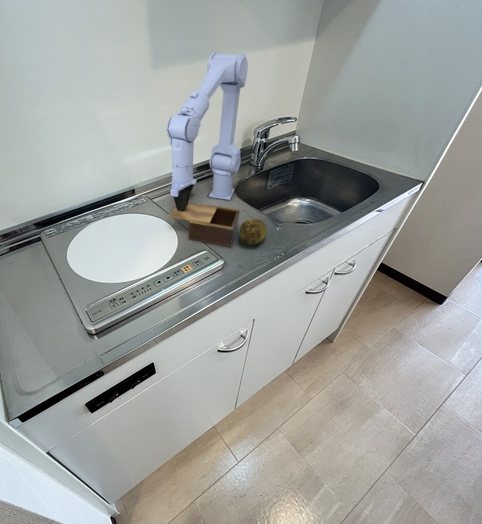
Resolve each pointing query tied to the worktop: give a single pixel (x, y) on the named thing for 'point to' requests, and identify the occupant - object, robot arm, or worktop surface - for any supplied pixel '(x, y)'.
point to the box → (216, 227)
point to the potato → (253, 231)
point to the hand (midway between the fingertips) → (182, 208)
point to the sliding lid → (194, 213)
